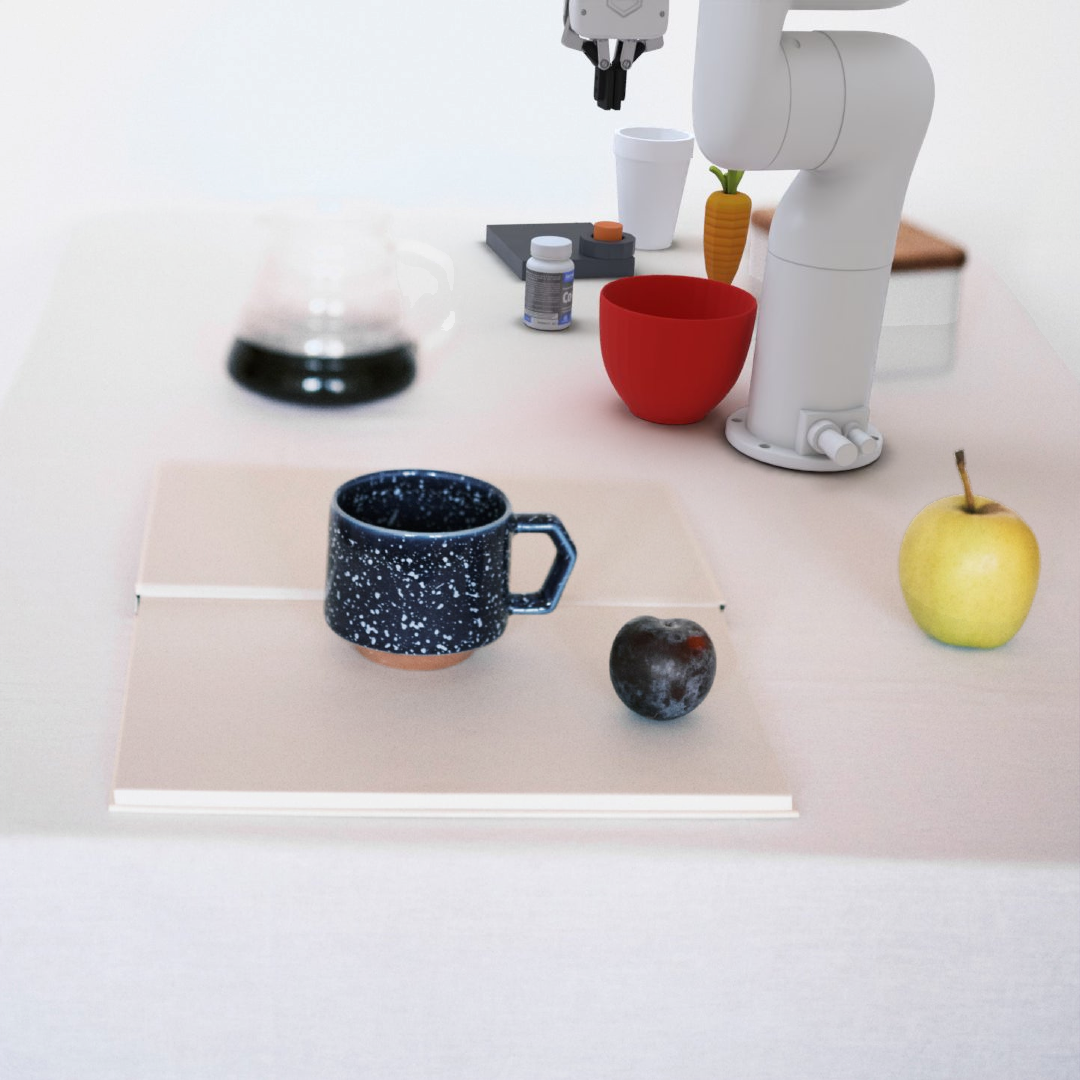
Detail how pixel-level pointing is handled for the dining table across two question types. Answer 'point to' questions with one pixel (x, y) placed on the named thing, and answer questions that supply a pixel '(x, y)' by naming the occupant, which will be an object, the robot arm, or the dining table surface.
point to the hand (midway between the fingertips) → (608, 107)
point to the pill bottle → (549, 284)
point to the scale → (586, 250)
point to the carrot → (725, 227)
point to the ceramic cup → (674, 343)
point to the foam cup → (651, 181)
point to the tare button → (608, 231)
